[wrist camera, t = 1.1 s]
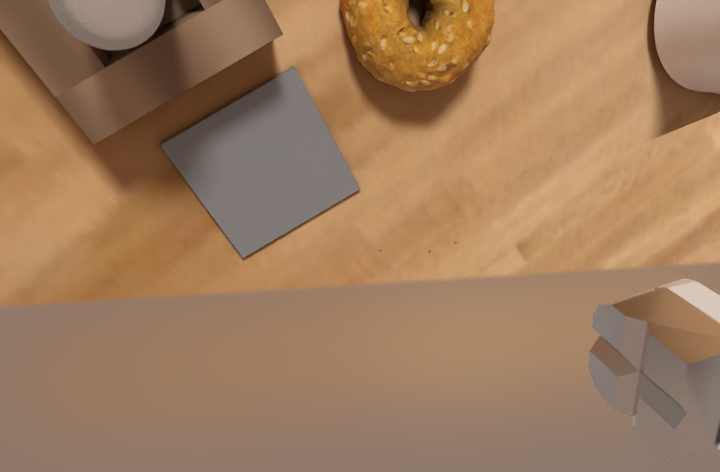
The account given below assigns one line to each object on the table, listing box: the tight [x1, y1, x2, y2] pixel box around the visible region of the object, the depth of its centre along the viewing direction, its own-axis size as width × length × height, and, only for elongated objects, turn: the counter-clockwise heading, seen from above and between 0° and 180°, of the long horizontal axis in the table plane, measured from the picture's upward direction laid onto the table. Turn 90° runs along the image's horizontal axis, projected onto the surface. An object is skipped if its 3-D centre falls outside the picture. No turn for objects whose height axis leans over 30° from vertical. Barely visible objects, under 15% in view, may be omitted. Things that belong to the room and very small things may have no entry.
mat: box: [160, 66, 360, 258], centre depth 40 cm, size 10×10×1 cm
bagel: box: [340, 0, 494, 92], centre depth 36 cm, size 10×11×5 cm
